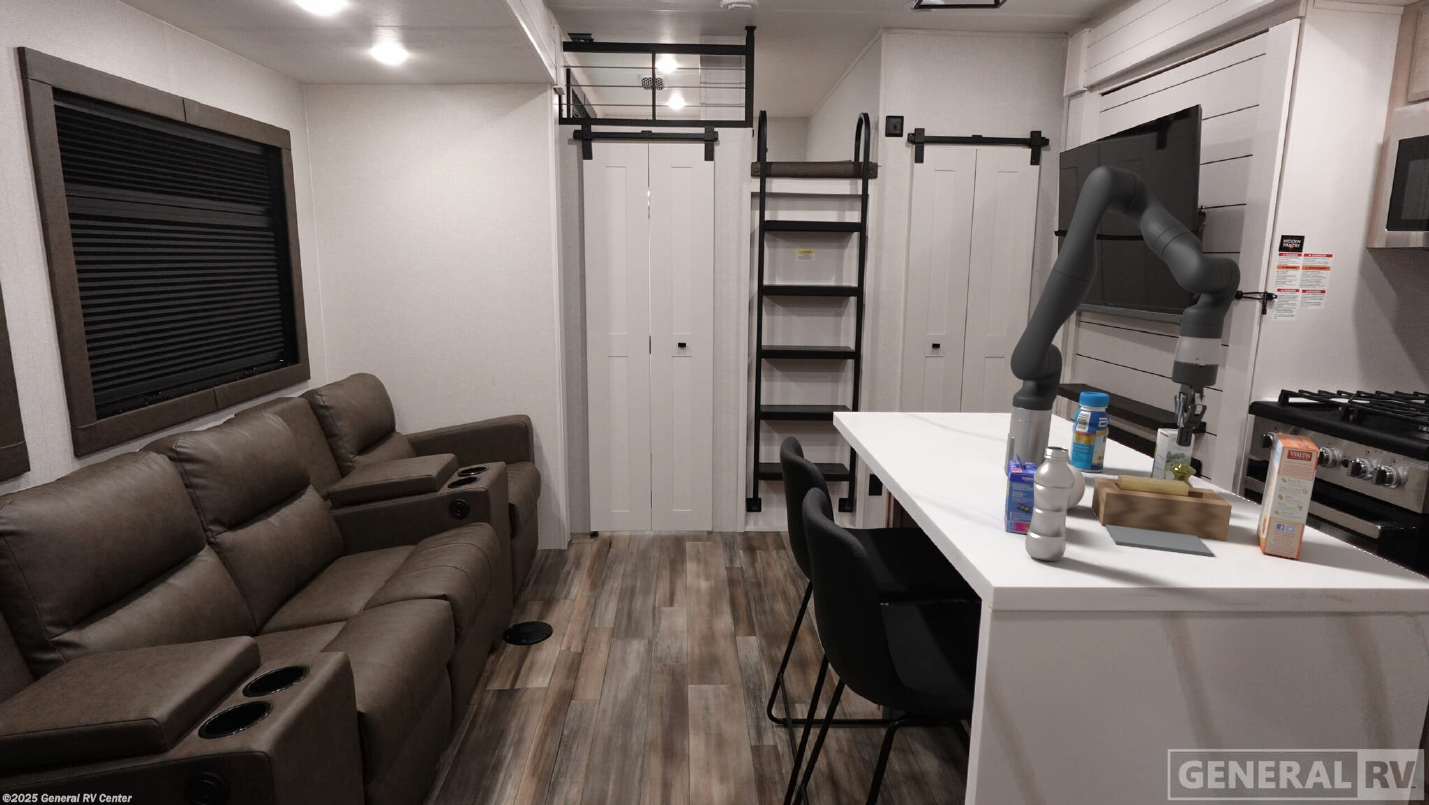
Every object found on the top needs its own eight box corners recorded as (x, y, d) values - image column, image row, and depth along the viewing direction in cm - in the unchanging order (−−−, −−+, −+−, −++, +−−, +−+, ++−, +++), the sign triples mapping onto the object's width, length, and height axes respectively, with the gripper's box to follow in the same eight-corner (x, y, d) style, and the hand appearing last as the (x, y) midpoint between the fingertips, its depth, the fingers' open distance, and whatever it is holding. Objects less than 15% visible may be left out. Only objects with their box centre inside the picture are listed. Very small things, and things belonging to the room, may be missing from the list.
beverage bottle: (1063, 463, 203) (1072, 390, 200) (1096, 466, 202) (1106, 392, 198) (1073, 472, 195) (1083, 395, 191) (1108, 474, 194) (1118, 397, 190)
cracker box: (1301, 561, 138) (1321, 449, 134) (1260, 554, 141) (1279, 444, 137) (1292, 539, 149) (1311, 436, 146) (1255, 533, 152) (1273, 431, 149)
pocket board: (1101, 525, 154) (1106, 492, 152) (1091, 508, 165) (1095, 477, 164) (1226, 540, 147) (1232, 506, 146) (1206, 521, 159) (1211, 489, 157)
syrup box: (1173, 486, 184) (1182, 428, 182) (1186, 494, 179) (1195, 433, 176) (1149, 485, 185) (1157, 427, 182) (1160, 492, 179) (1169, 432, 177)
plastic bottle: (1016, 551, 138) (1029, 444, 134) (1052, 551, 138) (1065, 444, 135) (1034, 565, 131) (1047, 453, 128) (1071, 565, 132) (1086, 453, 128)
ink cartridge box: (1002, 516, 157) (1009, 448, 155) (1031, 520, 155) (1039, 451, 153) (1003, 531, 148) (1011, 459, 145) (1034, 536, 146) (1042, 463, 144)
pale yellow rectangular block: (1118, 507, 156) (1122, 479, 155) (1114, 502, 160) (1118, 474, 159) (1184, 515, 152) (1189, 486, 151) (1179, 509, 156) (1183, 481, 155)
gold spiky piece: (1199, 508, 167) (1206, 465, 166) (1192, 516, 162) (1199, 470, 160) (1162, 501, 172) (1168, 458, 171) (1153, 507, 167) (1160, 463, 165)
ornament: (1081, 505, 167) (1088, 452, 165) (1082, 518, 158) (1089, 462, 155) (1031, 498, 171) (1037, 446, 169) (1029, 510, 162) (1035, 456, 160)
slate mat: (1115, 544, 143) (1116, 541, 143) (1105, 527, 152) (1105, 524, 152) (1212, 556, 139) (1213, 553, 138) (1195, 538, 148) (1196, 535, 148)
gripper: (1166, 355, 156) (1153, 437, 160) (1184, 362, 144) (1171, 451, 147) (1207, 357, 154) (1194, 440, 157) (1230, 365, 142) (1215, 455, 145)
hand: (1183, 445), depth 152 cm, fingers closed
